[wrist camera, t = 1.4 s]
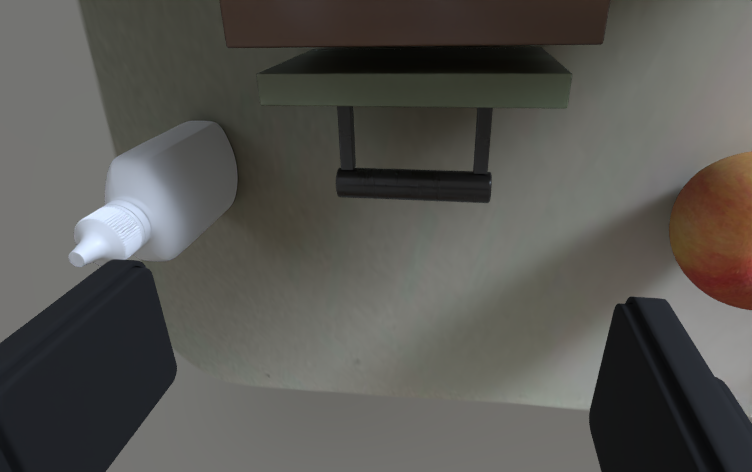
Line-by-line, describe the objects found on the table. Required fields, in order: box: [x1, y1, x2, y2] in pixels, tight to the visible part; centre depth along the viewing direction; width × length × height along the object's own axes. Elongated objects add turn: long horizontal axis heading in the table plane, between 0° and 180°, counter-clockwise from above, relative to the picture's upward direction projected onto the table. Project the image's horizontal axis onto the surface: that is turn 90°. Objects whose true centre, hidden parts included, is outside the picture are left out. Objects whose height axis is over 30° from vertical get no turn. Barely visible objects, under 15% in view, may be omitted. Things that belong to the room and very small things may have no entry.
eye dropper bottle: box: [68, 121, 238, 267], centre depth 25 cm, size 4×6×12 cm
